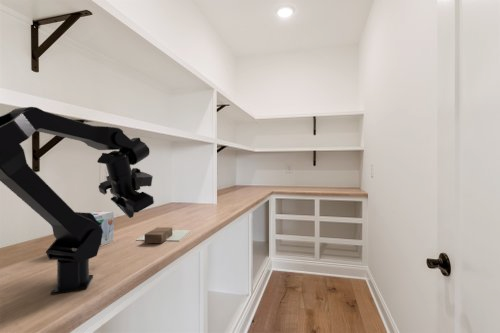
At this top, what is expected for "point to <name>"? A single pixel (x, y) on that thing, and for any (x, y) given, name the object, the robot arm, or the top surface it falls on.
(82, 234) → the robot arm
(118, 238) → the top surface
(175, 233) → the mat
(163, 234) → the walnut block
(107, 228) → the light bulb box
